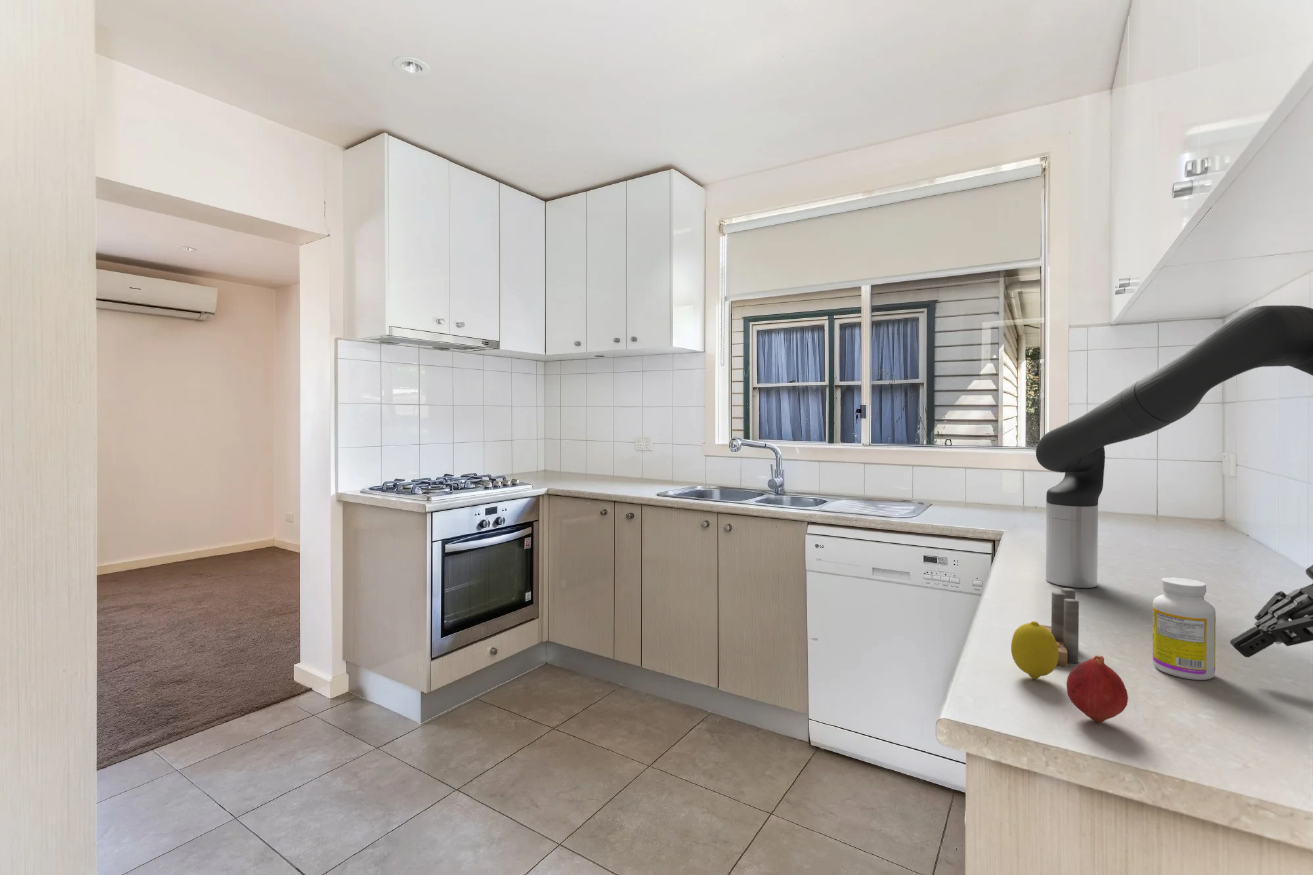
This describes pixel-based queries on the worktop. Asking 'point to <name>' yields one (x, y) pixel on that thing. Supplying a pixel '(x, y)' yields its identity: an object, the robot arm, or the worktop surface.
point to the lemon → (1034, 650)
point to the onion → (1096, 690)
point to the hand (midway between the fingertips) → (1237, 650)
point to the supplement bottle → (1184, 630)
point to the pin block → (1065, 625)
